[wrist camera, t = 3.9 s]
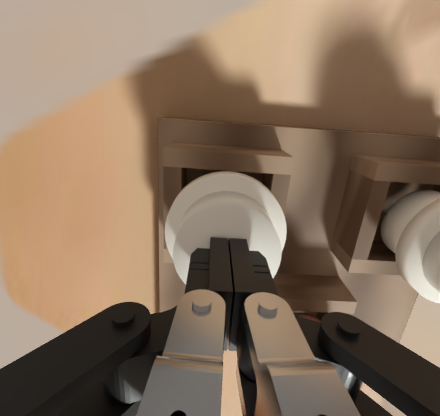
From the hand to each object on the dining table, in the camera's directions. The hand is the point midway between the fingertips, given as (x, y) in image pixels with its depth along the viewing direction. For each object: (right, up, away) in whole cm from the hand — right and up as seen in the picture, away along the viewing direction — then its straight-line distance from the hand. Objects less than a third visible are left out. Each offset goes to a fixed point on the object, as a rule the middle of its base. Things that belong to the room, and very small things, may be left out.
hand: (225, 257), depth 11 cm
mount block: (+6, -1, +11) cm, 12 cm away
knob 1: (0, +2, +5) cm, 6 cm away
